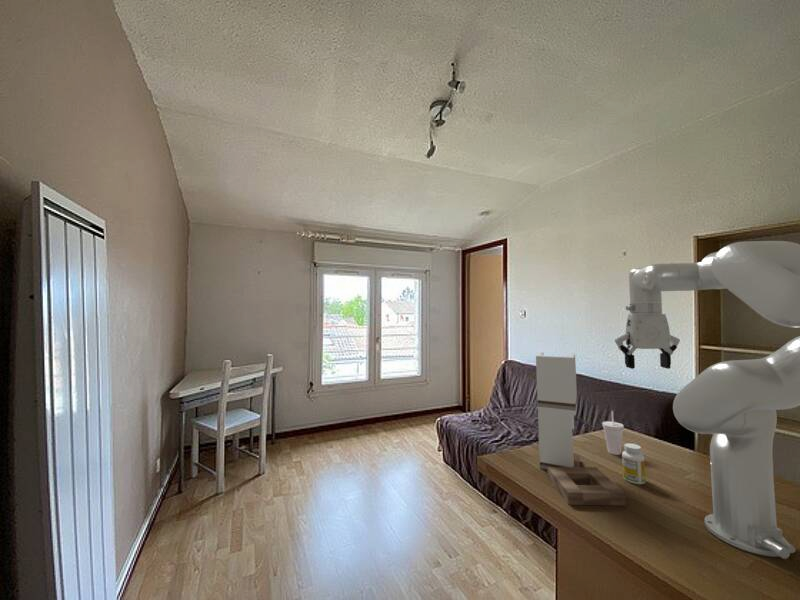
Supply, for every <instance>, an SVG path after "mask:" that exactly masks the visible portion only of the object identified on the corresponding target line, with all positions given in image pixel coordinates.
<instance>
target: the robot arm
mask: <svg viewBox="0 0 800 600" xmlns="http://www.w3.org/2000/svg"><path fill="white" fill-rule="evenodd" d="M628 283H629V286H628V287H629V305H626V306H625V310H626V311H629V314H628V315H627V318H626V319H627V320H626V325H625V334H623V335H621V336H619V337H617V338H615V339H614V343H615V344H616V346H617V348H618V349H619V350H620V351H621V352H622V353H623V355H624V363H625V364H624V365H625V367H626V368H628V369H632V370H633V369H635V366H636V364H635V355H634V352H635V351H636V350H637V349H638V350H646V349H647V350H651V349H652V350H654V349H655V350H656V349H657V350H659V351H661V353H660V354H659V360H660V361H659V362H660V366H659V367H661V368H664V369H669V370H670V369H671V365H672V358H671V357H672V355H673V354H674V352H675V350H676V349H677V348H678V345H679V344H680V341H681V340H680V338H678V337H676V336H673V335H671V332H670V326H669V325H670V324H669V322H668V318H667V316H666V314H665V313H663V307H662V306H663V305H662V303H663V301H662V292H681V291H682V292H687V291H688V292H689V291H703V290H705V291H706V290H724V289H727V290H728V291H729V292H730V293H732V294H733V295H734V296H735V297H736V298H738V299H740V301H742V302H743V303H744V304H746V305H747V306H749V307H750V308H751V309H752V311H753V310H754V312H756V313H757V314H758V315H760V316H761V317H763V318H764V319H766V320H767V321H770V322H772V323H773V324H775V325H779V326H782V327H786V328H787V327H788V328H794V329H795V328H797V329H798V328H799V329H800V244H799V243H797V242H792V241H786V240H759V241H756V240H754V241H753V240H751V241H737V242H733V243H730V244H727V245H725V246H724V247H722V248H721V249H719V250H718V251H714V252H711V253H709V254H708V255H706V256H705V257H704V258H702V260H701V261H698V262H684V263H683V262H678V263H677V262H675V263H674V262H673V263H669V262H668V263H653V264H649V265H646V266H645V267H635V268H633V269H631V270H630V271H629V274H628ZM624 342H625V345H626V346H625V345H624ZM799 406H800V335H798V336H796V337H794V338H792V339H791V340H789V341H788V342H786V343H785V344H784V345H783V346H781V347H780V348H779V349H777V350H775V351H773V353H771V354H769V355H766V356H765V357H762V358H755V359H738V360H736V359H733V360H724V361H720V362H716V363H715V364H712V365H710V366H709V367H707V368H706V369H704V370H703V371H702V372H700V373H699V374H698V375H697V376H695V377H694V378H693V379H692V380H690V381H689V382H688V383H687V384H686V385H685V386H683V388H681V389H680V391H678V393H677V394H676V395H675V397H674V400H673V402H672V411H673V415H674V417H675V418H676V420H677V422H678V424H680V425H681V426H682V427H683V428H685V429H686V430H688V431H691V432H693V433H696V434H701V435H712V437H711V441H710V444H709V459H710V460H709V461H710V462H709V463H710V477H711V478H710V479H711V494H712V496H711V497H712V509H713V510H712V511H713V513H710V514H707V515H706V516H705V517H704V526H705V527H706V529H707V530H708V531H709V532H710V533H711V534H712V535H713V536H715V537H717V538H718V539H720V540H721V541H723V542H724V543H727V544H728V545H731V546H732V547H735V548H738V549H740V550H743V551H746V552H749V553H752V554H756V555H760V556H766V557H776V558H777V557H780V558H782V559H783V560H784V559H785V560H786V559H788V558H789V557H790V555H791V554H793V553H795V552H796V547H795V546H794V545H792V544H790V543H789V542H788V540H787V539H786V538H785V537H784V536H783V529H781V528H780V527H778V526H777V512H776V511H777V509H776V495H775V483H774V482H775V480H774V460H773V458H774V457H773V448H774V447H773V446H774V445H773V444H774V437H775V433H776V429H777V428H776V427H777V422H778V419H777V418H778V416H777V415H778V414H777V411H778V410H779V411H780V410H791V409H794V408H797V407H799Z"/></svg>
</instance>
